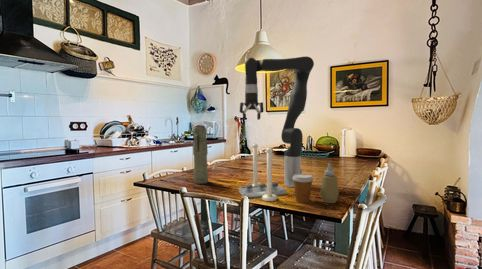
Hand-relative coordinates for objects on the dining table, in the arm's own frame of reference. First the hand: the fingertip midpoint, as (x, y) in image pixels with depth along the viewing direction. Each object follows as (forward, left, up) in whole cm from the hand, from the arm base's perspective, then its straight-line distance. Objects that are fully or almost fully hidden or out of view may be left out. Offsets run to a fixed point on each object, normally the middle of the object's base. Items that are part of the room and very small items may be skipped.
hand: (251, 119), depth 165 cm
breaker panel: (+2, +24, -38) cm, 45 cm away
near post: (+2, +35, -38) cm, 52 cm away
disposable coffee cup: (-12, +42, -38) cm, 58 cm away
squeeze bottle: (-23, +47, -38) cm, 65 cm away
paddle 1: (+9, +24, -34) cm, 43 cm away
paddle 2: (-5, +24, -34) cm, 42 cm away
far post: (+2, +13, -38) cm, 40 cm away
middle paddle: (+2, +24, -34) cm, 42 cm away
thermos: (+30, -10, -38) cm, 50 cm away
